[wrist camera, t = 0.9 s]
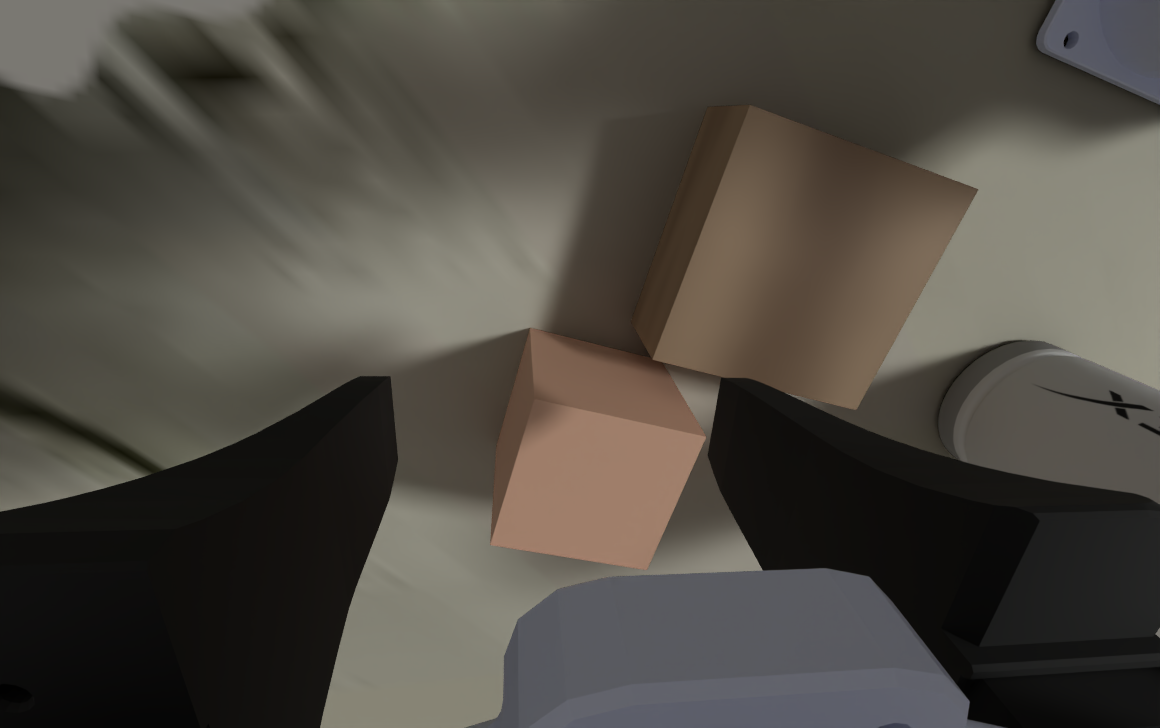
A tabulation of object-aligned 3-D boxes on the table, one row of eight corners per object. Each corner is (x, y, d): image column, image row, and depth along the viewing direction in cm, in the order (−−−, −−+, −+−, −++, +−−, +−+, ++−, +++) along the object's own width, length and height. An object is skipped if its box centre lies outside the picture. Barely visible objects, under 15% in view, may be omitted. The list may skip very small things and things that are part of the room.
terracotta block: (660, 359, 23) (706, 436, 17) (618, 469, 25) (647, 570, 19) (529, 327, 21) (534, 398, 16) (496, 445, 23) (490, 545, 18)
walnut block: (897, 176, 21) (978, 189, 17) (803, 365, 24) (856, 410, 20) (705, 106, 19) (750, 105, 15) (629, 319, 22) (652, 359, 18)
